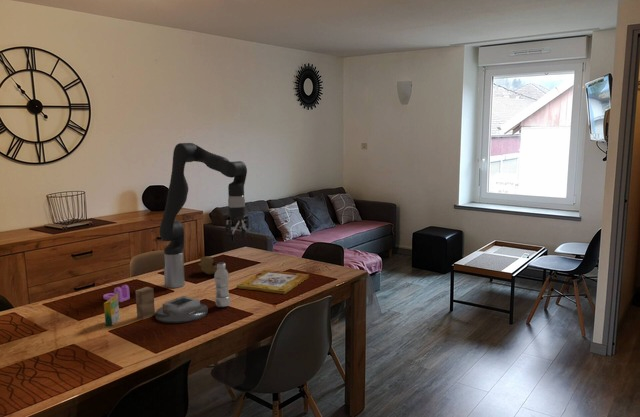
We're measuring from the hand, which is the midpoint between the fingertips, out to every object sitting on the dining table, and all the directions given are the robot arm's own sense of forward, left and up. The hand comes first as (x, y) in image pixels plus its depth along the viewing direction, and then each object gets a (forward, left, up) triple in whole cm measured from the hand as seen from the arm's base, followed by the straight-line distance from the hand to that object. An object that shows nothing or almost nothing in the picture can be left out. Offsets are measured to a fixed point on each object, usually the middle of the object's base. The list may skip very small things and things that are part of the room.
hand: (237, 240), depth 226 cm
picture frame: (-3, +31, -30) cm, 43 cm away
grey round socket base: (-10, -26, -29) cm, 40 cm away
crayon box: (-27, -48, -29) cm, 62 cm away
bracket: (-53, -28, -29) cm, 67 cm away
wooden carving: (-44, +26, -29) cm, 59 cm away
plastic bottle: (-1, -10, -29) cm, 31 cm away
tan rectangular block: (-21, -36, -29) cm, 51 cm away
